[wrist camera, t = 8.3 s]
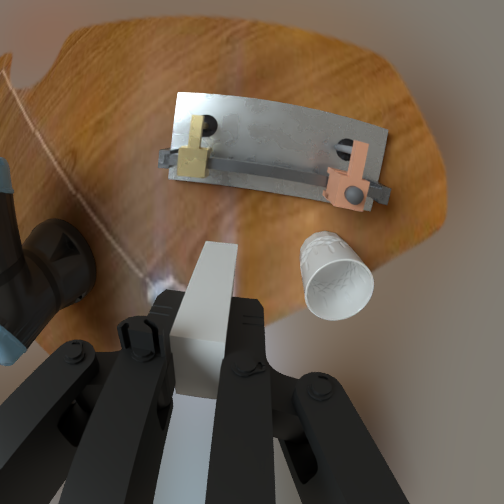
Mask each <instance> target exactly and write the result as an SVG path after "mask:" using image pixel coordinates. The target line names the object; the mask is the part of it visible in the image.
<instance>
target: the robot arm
mask: <svg viewBox="0 0 504 504" xmlns="http://www.w3.org/2000/svg"><path fill="white" fill-rule="evenodd" d="M13 193H14V190H13V188H12V184H11V177H10V168H9V164H8V162H7V161H6V160H5V159H4V158H3V157H0V365H4V366H10V365H13V364H14V363H15V362H16V361H17V360H18V359H19V357H20V356H21V355H22V354H23V353H25V352H26V351H27V349H28V348H29V346H30V345H31V344H32V342H33V341H34V340H35V339H36V337H37V336H38V335H39V334H40V332H41V331H42V330H43V329H44V327H45V326H46V325H47V324H48V323H49V321H50V320H51V319H52V318H53V317H54V315H55V314H56V313H57V312H58V311H59V310H61V309H63V308H65V307H68V306H70V305H72V304H74V303H77V302H79V301H81V300H82V299H83V298H84V297H85V296H86V295H87V294H88V293H89V292H90V291H91V289H92V288H93V286H94V283H95V279H96V266H95V261H94V258H93V255H92V252H91V250H90V248H89V246H88V244H87V242H86V240H85V239H84V238H83V236H82V235H81V234H80V233H79V231H78V230H77V229H76V228H74V227H73V226H72V225H71V224H69V223H68V222H66V221H63V220H61V219H48V220H46V221H44V222H42V223H41V224H39V225H37V226H36V227H35V228H34V229H33V230H32V232H31V234H30V235H29V236H28V238H27V239H26V240H25V242H24V243H23V245H22V244H21V240H20V235H19V230H18V225H17V219H16V213H15V206H14V199H13ZM237 248H238V244H229V243H220V242H211V241H206V242H205V245H204V247H203V250H202V252H201V254H200V257H199V259H198V262H197V264H196V267H195V269H194V272H193V274H192V277H191V279H190V282H189V284H188V287H187V290H186V292H181V291H174V290H167V289H166V290H165V291H164V292H162V293H161V294H160V295H158V296H157V298H156V300H155V302H154V304H153V306H152V308H151V310H150V313H149V314H148V316H134V317H129V318H127V319H125V320H123V321H122V322H121V323H120V324H119V325H118V326H117V330H118V334H119V339H120V343H121V347H122V349H121V350H120V351H115V352H95V350H94V348H93V346H92V345H91V344H90V343H88V342H86V341H83V340H71V341H68V342H66V343H64V344H63V345H61V346H60V347H59V348H58V349H57V350H56V351H55V352H53V353H52V354H51V355H50V356H49V357H48V358H47V359H46V360H45V361H44V362H43V363H42V364H41V365H40V366H39V367H38V368H37V369H36V370H35V371H34V372H33V373H32V374H31V375H30V376H29V377H28V378H27V379H26V380H25V381H24V382H23V383H22V384H21V385H20V386H19V387H18V388H17V389H16V390H15V391H14V392H13V393H12V394H11V395H10V396H9V397H8V398H7V399H6V400H5V401H4V402H3V404H2V405H1V406H0V504H49V503H50V501H51V500H52V498H53V497H54V496H55V494H56V493H57V491H58V490H59V488H60V487H61V486H62V484H63V483H64V481H65V480H66V482H65V484H64V488H63V491H62V494H61V497H60V501H59V504H153V500H154V495H155V489H156V484H157V479H158V474H159V469H160V464H161V459H162V455H163V449H164V445H165V440H166V436H167V432H168V427H169V423H170V418H171V414H172V409H173V398H172V396H173V392H174V388H175V390H176V393H177V394H182V395H188V396H194V397H202V398H209V399H217V401H216V409H215V417H214V426H213V434H212V435H213V436H212V444H211V452H210V461H209V470H208V480H207V490H206V500H205V504H276V503H275V475H274V449H273V437H275V438H278V440H279V442H280V446H281V448H282V451H283V454H284V457H285V459H286V462H287V465H288V467H289V470H290V473H291V475H292V478H293V481H294V483H295V486H296V489H297V491H298V494H299V496H300V499H301V502H302V504H409V502H408V500H407V498H406V497H405V495H404V493H403V491H402V489H401V488H400V486H399V484H398V482H397V480H396V479H395V477H394V475H393V473H392V472H391V470H390V468H389V466H388V465H387V463H386V461H385V459H384V458H383V456H382V454H381V452H380V451H379V449H378V447H377V445H376V444H375V442H374V440H373V439H372V437H371V435H370V433H369V432H368V430H367V428H366V426H365V425H364V423H363V421H362V420H361V418H360V416H359V414H358V413H357V411H356V409H355V407H354V406H353V404H352V402H351V401H350V399H349V397H348V395H347V394H346V392H345V391H344V389H343V387H342V385H341V384H340V383H339V382H338V381H337V379H335V378H334V377H332V376H330V375H329V374H325V373H321V372H311V373H308V374H305V375H303V376H302V377H301V378H300V379H296V378H292V377H289V376H286V375H283V374H281V373H279V372H277V371H276V370H274V369H273V368H272V367H271V366H270V365H269V363H268V361H267V359H266V353H265V329H264V308H263V306H262V305H261V304H260V302H259V301H258V299H249V298H239V297H232V296H233V287H234V277H235V267H236V257H237ZM66 478H67V479H66Z"/></svg>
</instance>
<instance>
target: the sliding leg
mask: <svg viewBox="0 0 504 504" xmlns="http://www.w3.org/2000/svg"><path fill="white" fill-rule="evenodd" d="M368 147H369V144H367V143H364V142H360V141H356V140H354V142H353V147H352V146H346V145H340V144H336V145H335V149H336V150H337V151H341V152H345V153H349V154H351V157H350V162H349V167H348V171H344V170H340V169H335V168H331V167H328V170H327V172H328V173H329V179H328V184H327V189H326V190H323V194H322V195H323V196H324V197H325V198H326V199H327V200H328V201H330V202H331V203H332V204H333V206H336V207H341V208H346V209H351V210H356V211H360V212H363V209H364V205H365V201H366V197H367V193H368V189H369V184H370V182H369V181H367V180H365V179H363V178H362V176H363V171H364V167H365V162H366V157H367V152H368Z"/></svg>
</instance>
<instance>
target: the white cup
mask: <svg viewBox="0 0 504 504" xmlns="http://www.w3.org/2000/svg"><path fill="white" fill-rule="evenodd" d="M300 267H301V275H302V282H303V288H304V294H305V301H306V304H307V306H308V308H309V309H310V311H311V312H312V313H313V314H315V315H316V316H317V317H320V318H322V319H325V320H332V321H334V320H342V319H346V318H349V317H351V316H353V315H355V314H357V313H358V312H359V311H361V310H362V309H363V308H364V307H365V306H366V304H367V303H368V302H369V300H370V298H371V296H372V293H373V290H374V279H373V275H372V273H371V271H370V270H369V268H368V267H367V266H366V265H365V264H364V262H363V261H362V260H361V259H360V257H359V256H358V255H357V254H356V253H355V251H353V249H352V248H351V247H350V246H349V245H348V244H347V243H346V242H345V241H344V240H343V239H342V238H340V237H339V236H338V235H337V234H336V233H332V232H328V231H322V232H317V233H314V234H313V235H311V236H310V237H308V238H307V239H306V240H305V242H304V243H303V245H302V247H301V248H300Z"/></svg>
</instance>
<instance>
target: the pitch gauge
mask: <svg viewBox="0 0 504 504" xmlns="http://www.w3.org/2000/svg"><path fill="white" fill-rule="evenodd" d="M387 135H388V130H387V129H384V128H381V127H378V126H375V125H372V124H369V123H365V122H362V121H359V120H355V119H352V118H348V117H344V116H340V115H337V114H333V113H329V112H324V111H320V110H316V109H311V108H307V107H302V106H297V105H292V104H286V103H280V102H274V101H268V100H261V99H254V98H246V97H238V96H228V95H217V94H203V93H179V92H178V97H177V104H176V111H175V118H174V127H173V135H172V144H171V148H166V149H161V150H159V162H158V168H169V178H168V179H173V180H183V181H192V182H201V183H209V184H217V185H225V186H233V187H240V188H247V189H253V190H260V191H267V192H273V193H279V194H285V195H291V196H296V197H302V198H308V199H313V200H318V201H324V202H329V203H331V202H330V201H328V200H327V199H326V198H325V197H324V196H323V195H322V194H323V190H326V189H327V184H328V179H329V173H328V172H327V170H328V167H331V168H335V169H340V170H344V171H348V167H349V162H350V157H351V154H349V153H345V152H341V151H337V150H336V149H335V145H336V144H340V145H346V146H352V147H353V142H354V140H356V141H360V142H364V143H367V144H369V147H368V152H367V157H366V162H365V167H364V171H363V176H362V178H363V179H365V180H367V181H369V182H370V184H369V189H368V193H367V197H366V201H365V205H364V209H363V210H367V211H371V208H372V204H373V200H375V201H376V202H378V203H381V204H385V205H387V204H388V200H389V196H390V192H391V188H389V187H387V186H385V185H383V184H381V183H379V182H378V179H379V175H380V170H381V166H382V161H383V156H384V151H385V146H386V141H387Z"/></svg>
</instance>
